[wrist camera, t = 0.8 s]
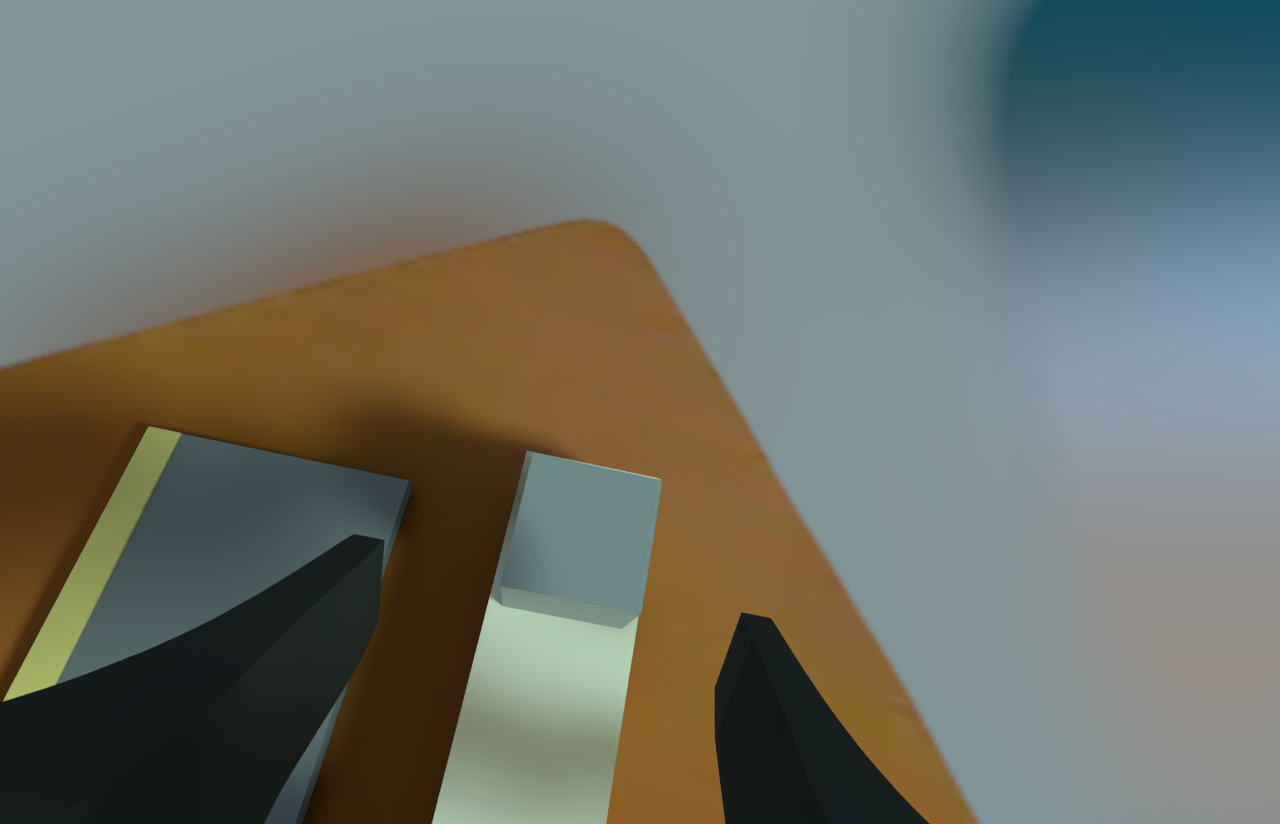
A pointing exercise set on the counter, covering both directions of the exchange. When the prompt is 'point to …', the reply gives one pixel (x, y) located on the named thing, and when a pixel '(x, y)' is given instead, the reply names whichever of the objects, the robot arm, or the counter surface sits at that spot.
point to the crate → (581, 543)
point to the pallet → (537, 715)
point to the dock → (205, 559)
